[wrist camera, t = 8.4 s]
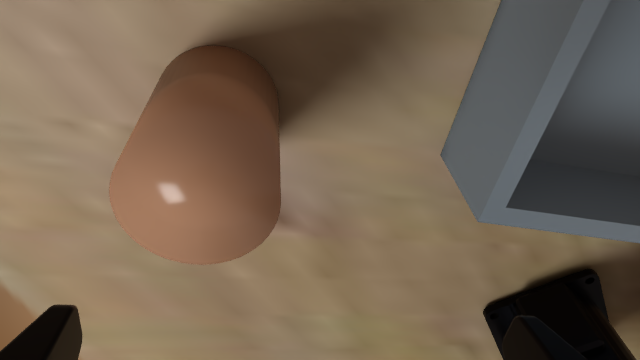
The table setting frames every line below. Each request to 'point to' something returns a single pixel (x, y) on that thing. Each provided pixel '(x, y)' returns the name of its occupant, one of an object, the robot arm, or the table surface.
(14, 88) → the table surface
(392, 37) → the table surface
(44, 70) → the table surface
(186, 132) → the terracotta capsule
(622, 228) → the tote
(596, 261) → the table surface
